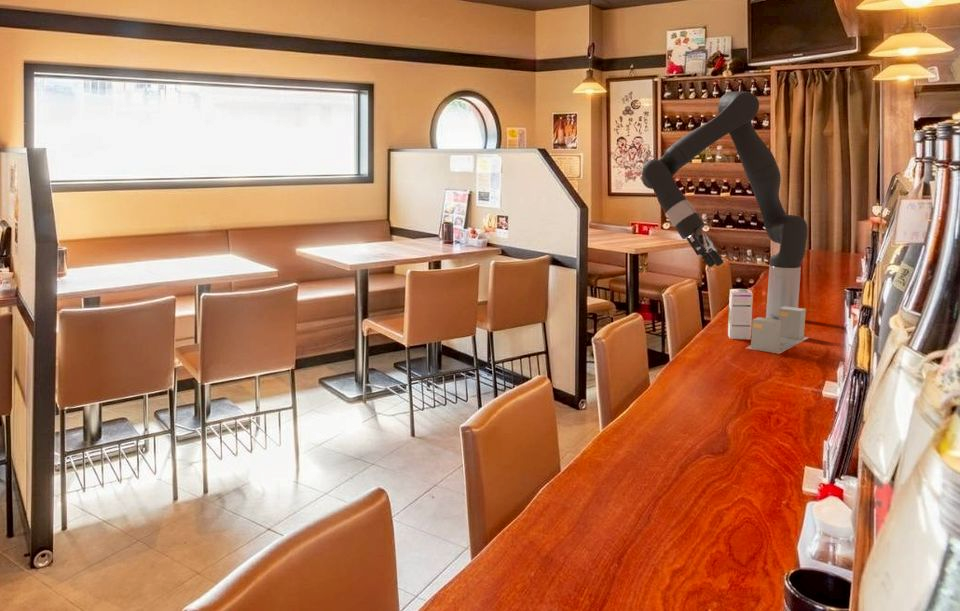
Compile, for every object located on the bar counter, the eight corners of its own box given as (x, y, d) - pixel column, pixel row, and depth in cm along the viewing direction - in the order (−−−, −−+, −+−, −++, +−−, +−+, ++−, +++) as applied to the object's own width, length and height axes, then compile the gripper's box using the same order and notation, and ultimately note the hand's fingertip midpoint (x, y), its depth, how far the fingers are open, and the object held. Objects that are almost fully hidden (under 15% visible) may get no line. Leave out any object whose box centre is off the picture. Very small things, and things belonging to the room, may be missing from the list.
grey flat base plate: (776, 336, 217) (776, 332, 217) (808, 341, 211) (809, 337, 211) (744, 352, 200) (745, 348, 200) (778, 358, 194) (779, 353, 194)
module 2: (782, 333, 216) (784, 306, 214) (803, 336, 212) (805, 308, 210) (777, 336, 213) (779, 308, 211) (798, 339, 209) (800, 311, 207)
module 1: (756, 346, 202) (758, 317, 200) (779, 349, 198) (781, 320, 196) (750, 349, 199) (752, 319, 197) (773, 352, 195) (775, 322, 193)
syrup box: (751, 343, 209) (754, 292, 206) (728, 342, 210) (731, 291, 208) (748, 338, 215) (751, 289, 212) (726, 338, 216) (729, 288, 213)
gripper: (688, 211, 211) (721, 258, 207) (702, 211, 223) (734, 256, 219) (666, 226, 214) (699, 273, 211) (682, 226, 226) (712, 271, 223)
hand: (716, 265), depth 215 cm, fingers open, 8 cm apart
